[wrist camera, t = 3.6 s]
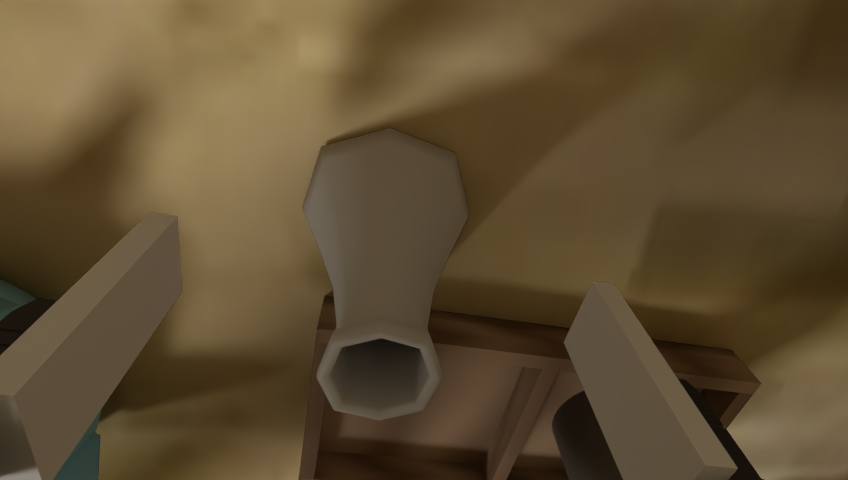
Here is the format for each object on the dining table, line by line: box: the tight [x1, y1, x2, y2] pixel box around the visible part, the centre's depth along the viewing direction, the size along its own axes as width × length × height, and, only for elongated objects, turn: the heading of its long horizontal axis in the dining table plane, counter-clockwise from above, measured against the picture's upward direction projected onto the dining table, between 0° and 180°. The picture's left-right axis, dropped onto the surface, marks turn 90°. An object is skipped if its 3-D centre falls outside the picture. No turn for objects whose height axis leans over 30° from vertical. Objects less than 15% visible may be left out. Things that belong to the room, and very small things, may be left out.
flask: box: [303, 128, 469, 421], centre depth 16 cm, size 7×7×10 cm
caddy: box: [299, 296, 762, 480], centre depth 26 cm, size 22×12×2 cm, turn 78°
